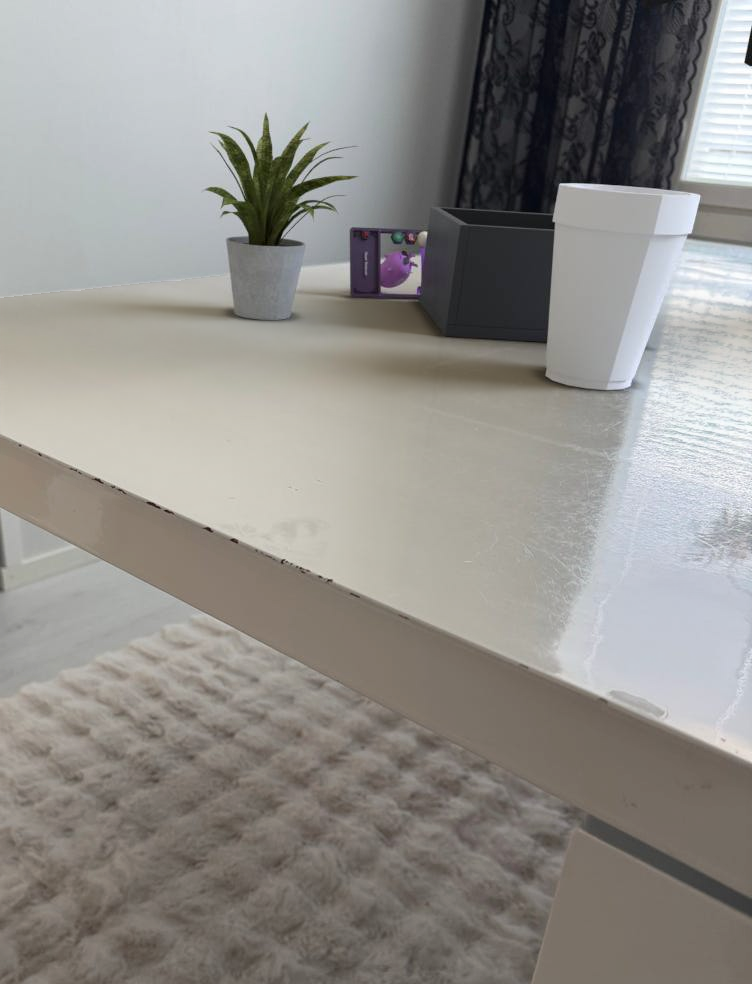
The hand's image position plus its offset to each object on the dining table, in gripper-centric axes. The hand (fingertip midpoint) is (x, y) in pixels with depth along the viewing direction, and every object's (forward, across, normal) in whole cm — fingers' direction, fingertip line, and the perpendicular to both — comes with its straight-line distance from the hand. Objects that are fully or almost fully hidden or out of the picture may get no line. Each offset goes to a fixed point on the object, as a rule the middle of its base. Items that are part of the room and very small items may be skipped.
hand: (710, 30), depth 67 cm
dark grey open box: (+25, -8, -9) cm, 28 cm away
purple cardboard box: (+27, -23, -18) cm, 40 cm away
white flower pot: (+18, +12, -13) cm, 25 cm away
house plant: (+19, -10, -34) cm, 40 cm away
